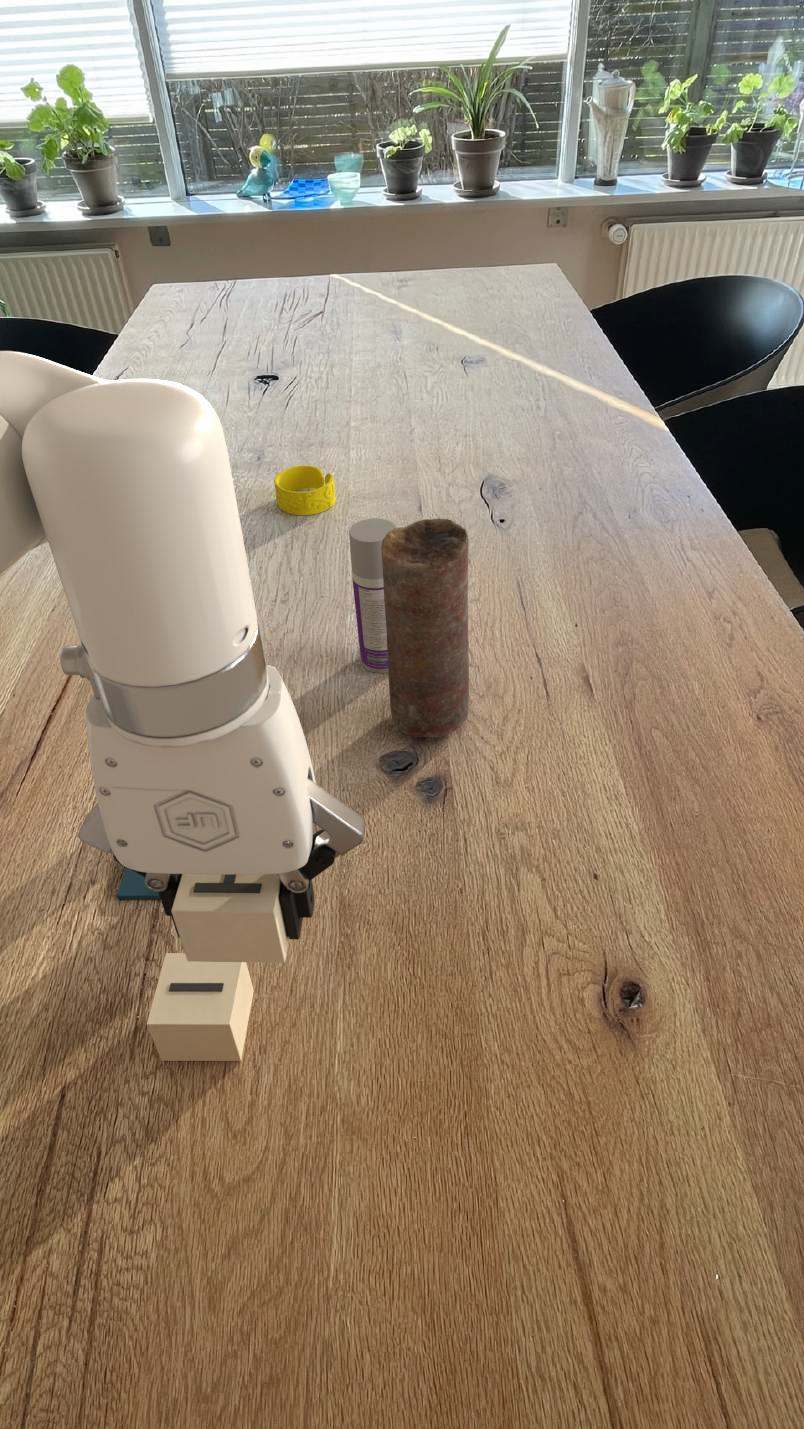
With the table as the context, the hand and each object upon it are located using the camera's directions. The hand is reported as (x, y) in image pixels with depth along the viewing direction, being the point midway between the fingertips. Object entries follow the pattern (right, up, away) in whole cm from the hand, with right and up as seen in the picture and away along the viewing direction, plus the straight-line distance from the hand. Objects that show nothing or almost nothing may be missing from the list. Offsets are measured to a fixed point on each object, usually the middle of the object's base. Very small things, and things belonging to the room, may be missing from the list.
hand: (243, 916), depth 54 cm
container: (+7, +17, +43) cm, 47 cm away
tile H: (0, 0, 0) cm, 0 cm away
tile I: (-4, -10, +12) cm, 16 cm away
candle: (+12, +11, +35) cm, 39 cm away
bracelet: (-3, +40, +71) cm, 81 cm away
